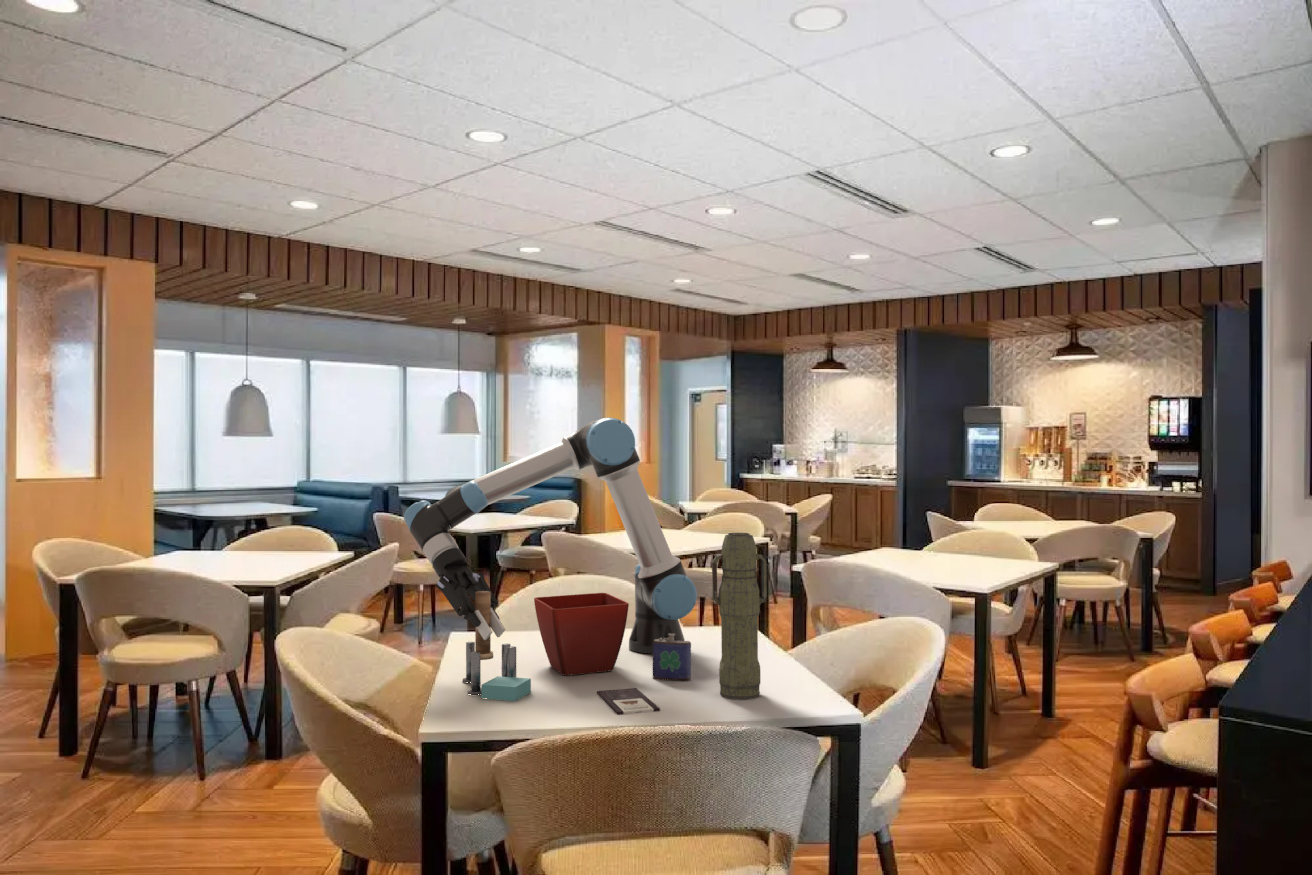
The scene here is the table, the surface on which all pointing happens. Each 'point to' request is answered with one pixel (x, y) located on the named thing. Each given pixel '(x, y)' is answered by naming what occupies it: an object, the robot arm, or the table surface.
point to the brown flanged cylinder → (485, 609)
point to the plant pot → (582, 631)
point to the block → (506, 688)
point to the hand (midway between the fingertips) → (494, 634)
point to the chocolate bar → (627, 701)
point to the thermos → (739, 615)
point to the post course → (475, 671)
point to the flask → (671, 659)
